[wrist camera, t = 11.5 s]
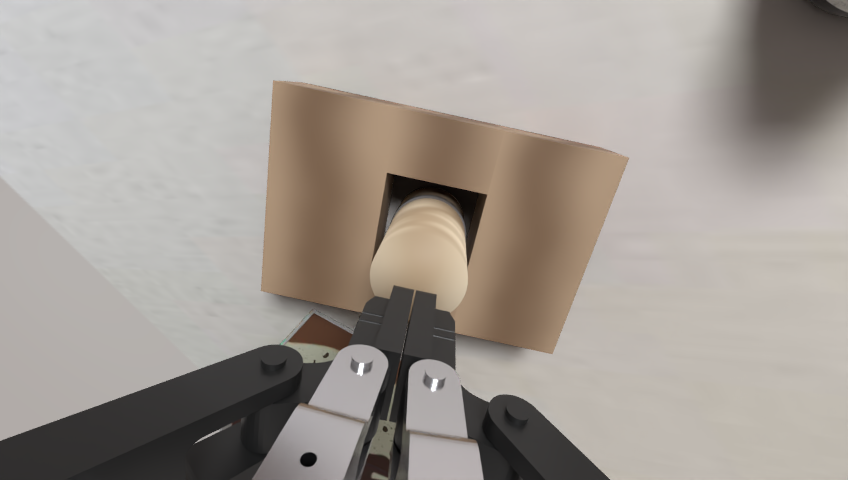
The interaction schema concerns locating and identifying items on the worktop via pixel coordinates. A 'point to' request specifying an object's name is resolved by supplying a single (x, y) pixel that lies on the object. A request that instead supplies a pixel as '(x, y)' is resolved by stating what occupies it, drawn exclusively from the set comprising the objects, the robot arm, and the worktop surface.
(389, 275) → the peg
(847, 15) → the ink bottle
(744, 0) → the worktop surface
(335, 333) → the food container
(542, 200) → the board
